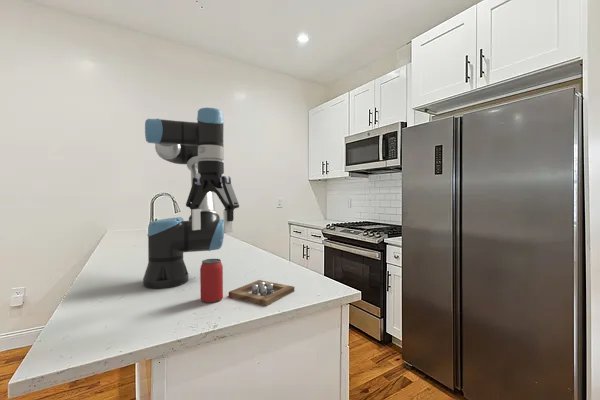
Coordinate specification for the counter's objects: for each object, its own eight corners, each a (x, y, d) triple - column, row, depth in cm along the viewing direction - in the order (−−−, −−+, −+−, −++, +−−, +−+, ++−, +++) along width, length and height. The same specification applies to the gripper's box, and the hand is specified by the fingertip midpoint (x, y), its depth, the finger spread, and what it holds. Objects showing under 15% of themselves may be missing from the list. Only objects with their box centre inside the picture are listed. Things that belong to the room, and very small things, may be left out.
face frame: (228, 296, 93) (228, 291, 93) (258, 284, 106) (258, 279, 106) (266, 305, 85) (266, 300, 85) (294, 291, 98) (294, 286, 98)
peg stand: (250, 294, 94) (250, 285, 94) (261, 290, 99) (261, 281, 99) (263, 297, 92) (263, 288, 92) (274, 292, 96) (274, 283, 96)
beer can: (216, 304, 86) (216, 263, 86) (196, 302, 88) (195, 262, 87) (226, 296, 93) (226, 258, 92) (207, 295, 94) (207, 257, 94)
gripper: (173, 162, 92) (174, 230, 93) (232, 156, 80) (233, 235, 80) (193, 164, 99) (194, 227, 99) (250, 159, 86) (251, 232, 86)
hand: (211, 231), depth 90 cm, fingers open, 13 cm apart
